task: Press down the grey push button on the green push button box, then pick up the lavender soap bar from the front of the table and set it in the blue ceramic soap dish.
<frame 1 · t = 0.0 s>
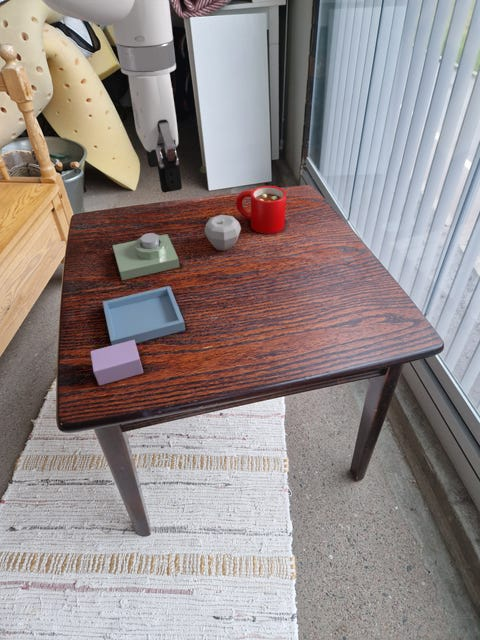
hand: (164, 177, 69), 22 cm above the table, tool pointing down, fingers open, 9 cm apart
mug: (259, 223, 100), on the table
soap bar: (119, 369, 68), on the table
apple: (223, 246, 93), on the table
soap dish: (144, 319, 76), on the table
grey push button: (150, 241, 87), point 4 cm above the table, slide at 0.1 cm
green push button box: (146, 260, 89), on the table
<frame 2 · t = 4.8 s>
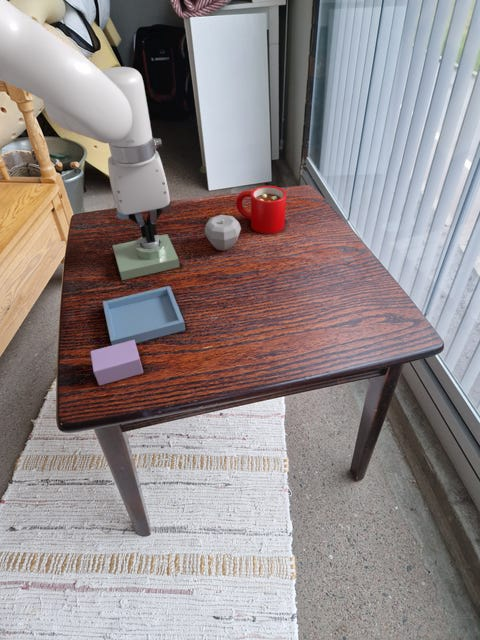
hand: (150, 238, 86), 5 cm above the table, tool pointing down, fingers closed
grey push button: (150, 242, 87), point 4 cm above the table, slide at -0.3 cm, touching gripper
everything else where it was.
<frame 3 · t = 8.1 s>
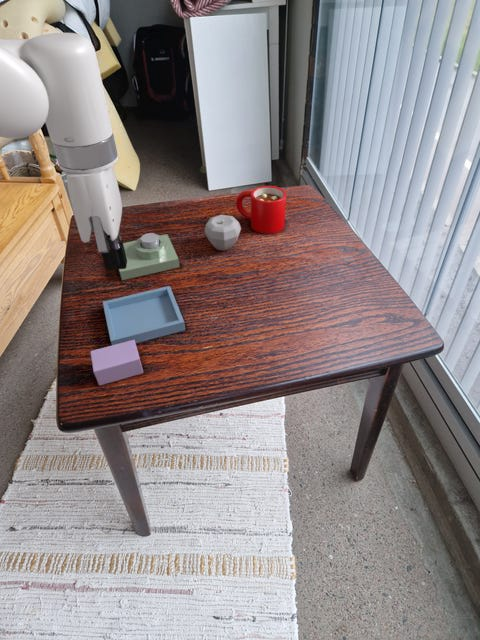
hand: (116, 266, 66), 13 cm above the table, tool pointing down, fingers closed
grey push button: (150, 241, 87), point 4 cm above the table, slide at 0.1 cm
everything else where it was.
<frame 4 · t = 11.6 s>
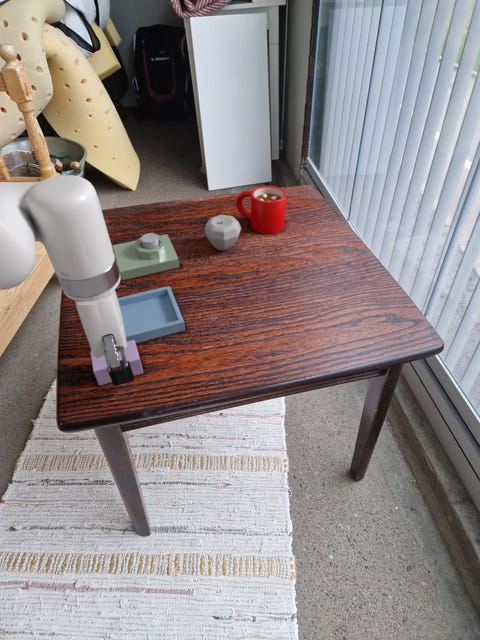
hand: (119, 359, 67), 2 cm above the table, tool pointing down, fingers open, 9 cm apart
nothing on the table moved.
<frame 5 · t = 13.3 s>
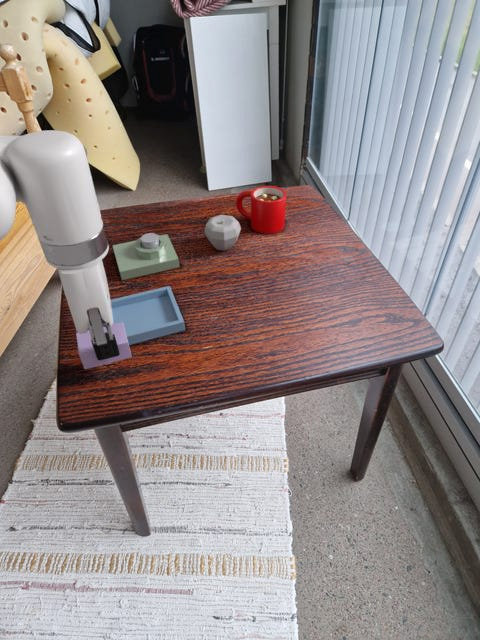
hand: (106, 343, 63), 6 cm above the table, tool pointing down, fingers closed on soap bar, 4 cm apart
soap bar: (106, 352, 65), point 4 cm above the table, touching gripper
everything else where it was.
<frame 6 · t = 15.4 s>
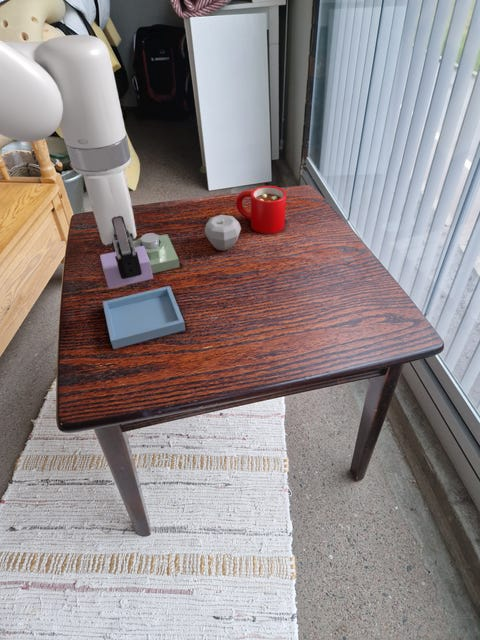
hand: (128, 265, 67), 13 cm above the table, tool pointing down, fingers closed on soap bar, 4 cm apart
soap bar: (128, 275, 68), point 11 cm above the table, touching gripper
everything else where it was.
when the fingers open (3 cm above the table, at t = 18.0 s): soap bar stays where it is, resting on soap dish.
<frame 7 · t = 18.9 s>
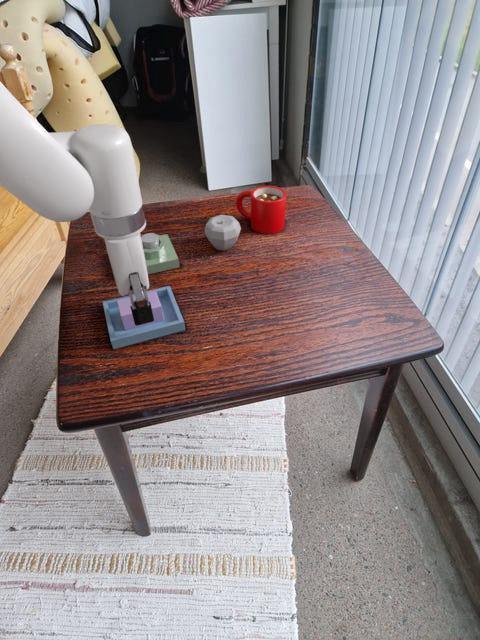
hand: (139, 304, 73), 4 cm above the table, tool pointing down, fingers open, 9 cm apart
soap bar: (142, 317, 76), point 1 cm above the table, touching soap dish
everything else where it was.
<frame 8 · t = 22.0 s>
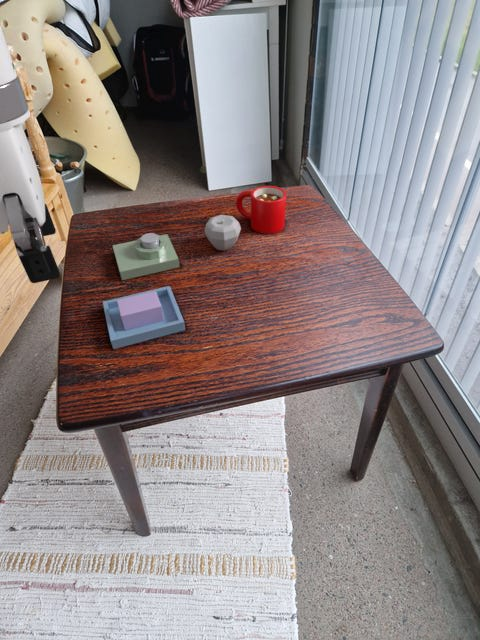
hand: (44, 255, 51), 23 cm above the table, tool pointing down, fingers open, 9 cm apart
nothing on the table moved.
at the end: grey push button pushed in 1.1 cm at the most during the clip, back to where it started at the end; grey push button slide at 0.1 cm; soap bar inside the target area in the soap dish (0.2 cm from its centre), point 0.6 cm above the soap dish's base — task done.
